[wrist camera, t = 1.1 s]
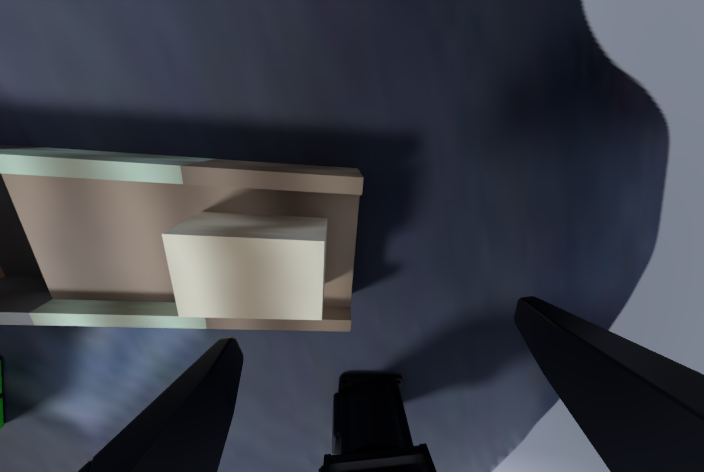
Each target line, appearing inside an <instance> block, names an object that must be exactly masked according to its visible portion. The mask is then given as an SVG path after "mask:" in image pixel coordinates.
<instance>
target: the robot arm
mask: <svg viewBox="0 0 704 472" xmlns="http://www.w3.org/2000/svg"><path fill="white" fill-rule="evenodd" d="M514 320H515V324H516V326H517V328H518V330H519V331H520V333H521V335H522V337H523V339H524V340H525V342H526V344H527V346H528V347H529V349H530V351H531V353H532V355H533V356H534V358H535V360H536V362H537V364H538V365H539V367H540V369H541V370H542V372H543V374H544V375H545V377H546V378H547V380H548V381H549V383H550V384H551V385H552V387H553V388H554V390H555V391H556V393H557V394H558V396H559V397H560V399H561V400H562V401H563V403H564V404H565V406H566V407H567V408H568V410H569V412H570V413H571V414H572V416H573V418H574V419H575V420H576V422H577V423H578V424H579V426H580V428H581V429H582V430H583V432H584V433H585V435H586V436H587V438H588V439H589V441H590V442H591V444H592V445H593V447H594V448H595V449H596V451H597V452H598V454H599V455H600V457H601V458H602V460H603V461H604V463H605V464H606V466H607V467H608V468H609V470H610V471H611V472H704V375H703V374H701V373H699V372H697V371H695V370H692V369H690V368H688V367H686V366H684V365H682V364H679V363H677V362H675V361H673V360H671V359H668V358H666V357H664V356H662V355H660V354H658V353H656V352H653V351H651V350H649V349H647V348H645V347H643V346H640V345H638V344H636V343H634V342H632V341H630V340H627V339H625V338H623V337H621V336H619V335H617V334H614V333H612V332H610V331H608V330H606V329H604V328H601V327H599V326H597V325H595V324H593V323H591V322H588V321H586V320H584V319H582V318H580V317H578V316H575V315H573V314H571V313H569V312H567V311H565V310H562V309H560V308H558V307H556V306H554V305H552V304H549V303H547V302H545V301H543V300H541V299H539V298H536V297H532V296H530V297H523V298H520V299H519V300H518V302H517V307H516V311H515V316H514ZM242 366H243V353H242V351H241V349H240V347H239V344H238V342H237V340H236V338H235V337H225V338H221V339H219V340H218V341H217V342H216V343H215V344H214V345H213V346H211V347H210V348H209V349H208V350H207V351H206V352H205V353H204V354H203V355H202V356H201V357H200V358H199V359H198V360H197V361H195V362H194V363H193V364H192V365H191V366H190V367H189V368H188V369H187V370H186V371H185V372H184V373H183V374H182V375H181V376H179V377H178V378H177V379H176V380H175V381H174V382H173V383H172V384H171V385H170V386H169V387H168V388H167V389H166V390H165V391H163V392H162V393H161V394H160V395H159V396H158V397H157V398H156V399H155V400H154V401H153V402H152V403H151V404H150V405H149V406H147V407H146V408H145V409H144V410H143V411H142V412H141V413H140V414H139V415H138V416H137V417H136V418H135V419H134V420H133V421H131V422H130V423H129V424H128V425H127V426H126V427H125V428H124V429H123V430H122V431H121V432H120V433H119V434H118V435H117V436H116V437H114V438H113V439H112V440H111V441H110V442H109V443H108V444H107V445H106V446H105V447H104V448H103V449H102V450H101V451H99V452H98V453H97V454H96V455H95V456H94V457H93V460H91V461H89V462H88V463H87V464H86V465H84V466H83V467H82V468H81V469H80V470H79V471H78V472H217V470H218V466H219V463H220V459H221V456H222V453H223V449H224V446H225V442H226V439H227V435H228V432H229V428H230V425H231V421H232V417H233V413H234V409H235V404H236V398H237V393H238V387H239V382H240V377H241V371H242ZM402 385H403V379H402V376H400V375H341V376H340V377H339V389H338V393H335V394H334V400H333V428H332V453H333V454H334V455H331V454H325V455H324V463H323V466H321V468H320V469H319V472H436V469H435V466H434V464H433V461H432V458H431V456H430V453H429V450H428V448H427V445H426V443H425V444H420V445H419V446H413V442H412V438H411V434H410V430H409V426H408V422H407V418H406V414H405V409H404V405H403V401H402V397H401V390H402Z"/></svg>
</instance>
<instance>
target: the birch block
mask: <svg viewBox="0 0 704 472" xmlns="http://www.w3.org/2000/svg"><path fill="white" fill-rule="evenodd" d="M162 239H163V244H164V249H165V253H166V258H167V263H168V268H169V273H170V277H171V282H172V287H173V292H174V297H175V301H176V306H177V311H178V316H179V317H201V318H245V319H288V320H322V312H323V300H324V289H325V269H326V243H327V218H313V217H294V216H275V215H256V214H237V213H217V212H200V213H198V214H196V215H195V216H193V217H191V218H189V219H187V220H186V221H184V222H182V223H180V224H178V225H177V226H175V227H173V228H171V229H169V230H168V231H166V232H164V233H162Z"/></svg>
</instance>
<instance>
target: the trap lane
mask: <svg viewBox="0 0 704 472" xmlns="http://www.w3.org/2000/svg"><path fill="white" fill-rule="evenodd" d="M363 179H364V177H363V176H362V174H361V173H360V171H359V170H358V168H344V167H329V166H314V165H300V164H285V163H270V162H255V161H240V160H226V159H211V158H196V157H181V156H166V155H152V154H137V153H122V152H107V151H92V150H78V149H63V148H48V147H33V146H18V145H4V144H0V325H45V326H95V327H146V328H196V329H246V330H297V331H347V332H350V330H351V310H350V305H351V293H352V281H353V269H354V257H355V245H356V233H357V221H358V209H359V196H360V195H362V191H363ZM200 212H217V213H237V214H256V215H275V216H294V217H313V218H327V243H326V269H325V289H324V300H323V312H322V320H288V319H245V318H201V317H179V316H178V311H177V306H176V301H175V297H174V292H173V287H172V282H171V277H170V273H169V268H168V263H167V258H166V253H165V249H164V244H163V239H162V233H164V232H166V231H168V230H169V229H171V228H173V227H175V226H177V225H178V224H180V223H182V222H184V221H186V220H187V219H189V218H191V217H193V216H195V215H196V214H198V213H200Z"/></svg>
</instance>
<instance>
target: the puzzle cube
mask: <svg viewBox="0 0 704 472" xmlns="http://www.w3.org/2000/svg"><path fill="white" fill-rule="evenodd" d="M3 426H4V415H3V394H2V366H1V356H0V428H2V427H3Z"/></svg>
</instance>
